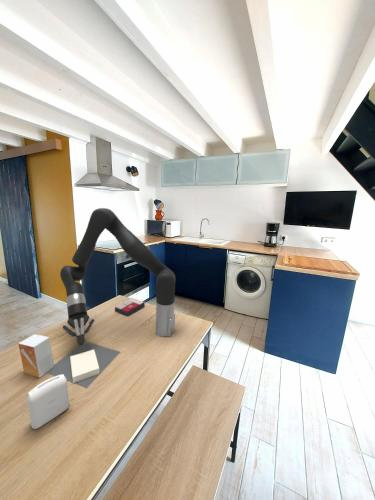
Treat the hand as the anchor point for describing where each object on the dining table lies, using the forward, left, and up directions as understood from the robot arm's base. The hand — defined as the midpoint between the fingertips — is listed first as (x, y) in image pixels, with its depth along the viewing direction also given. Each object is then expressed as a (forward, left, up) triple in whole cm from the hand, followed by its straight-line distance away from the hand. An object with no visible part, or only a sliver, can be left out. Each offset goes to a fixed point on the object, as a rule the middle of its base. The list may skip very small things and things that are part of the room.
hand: (81, 344), depth 87 cm
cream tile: (-1, 0, -5) cm, 5 cm away
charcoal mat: (-3, +1, -6) cm, 7 cm away
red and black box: (+5, -44, -7) cm, 45 cm away
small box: (+10, +11, -6) cm, 16 cm away
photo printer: (-10, +22, -7) cm, 25 cm away
